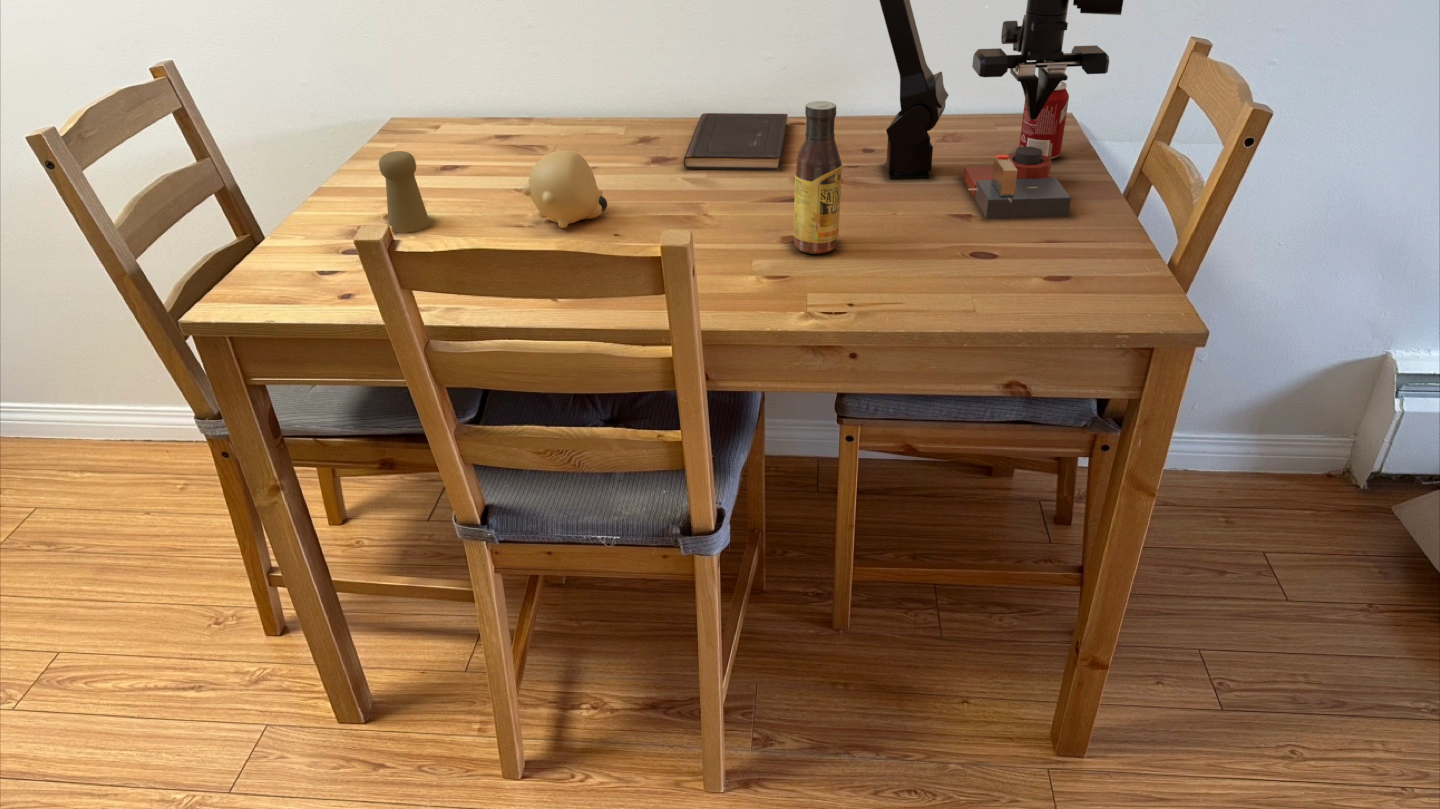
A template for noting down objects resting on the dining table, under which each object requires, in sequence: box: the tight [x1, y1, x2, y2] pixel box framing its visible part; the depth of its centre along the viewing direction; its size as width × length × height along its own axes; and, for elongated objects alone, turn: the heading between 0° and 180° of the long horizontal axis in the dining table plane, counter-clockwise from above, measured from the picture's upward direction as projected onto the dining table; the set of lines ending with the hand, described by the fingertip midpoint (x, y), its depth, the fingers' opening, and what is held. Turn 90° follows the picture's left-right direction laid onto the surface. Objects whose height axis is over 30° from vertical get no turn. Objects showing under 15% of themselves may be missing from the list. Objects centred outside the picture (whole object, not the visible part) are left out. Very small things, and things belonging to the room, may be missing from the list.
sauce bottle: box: [793, 100, 843, 255], centre depth 143 cm, size 7×6×20 cm
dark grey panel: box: [967, 177, 1072, 220], centre depth 157 cm, size 14×10×3 cm
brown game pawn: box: [378, 150, 431, 234], centre depth 156 cm, size 6×6×11 cm
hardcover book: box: [682, 112, 789, 171], centre depth 184 cm, size 16×23×2 cm
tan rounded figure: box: [522, 149, 608, 229], centre depth 156 cm, size 10×12×11 cm
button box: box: [962, 152, 1053, 198], centre depth 164 cm, size 12×8×4 cm
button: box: [1014, 147, 1042, 165], centre depth 164 cm, size 4×4×2 cm
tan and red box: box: [992, 154, 1017, 196], centre depth 155 cm, size 6×2×4 cm, turn 0°
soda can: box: [1018, 81, 1070, 161], centre depth 173 cm, size 7×7×12 cm
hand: (1032, 118), depth 161 cm, fingers closed
